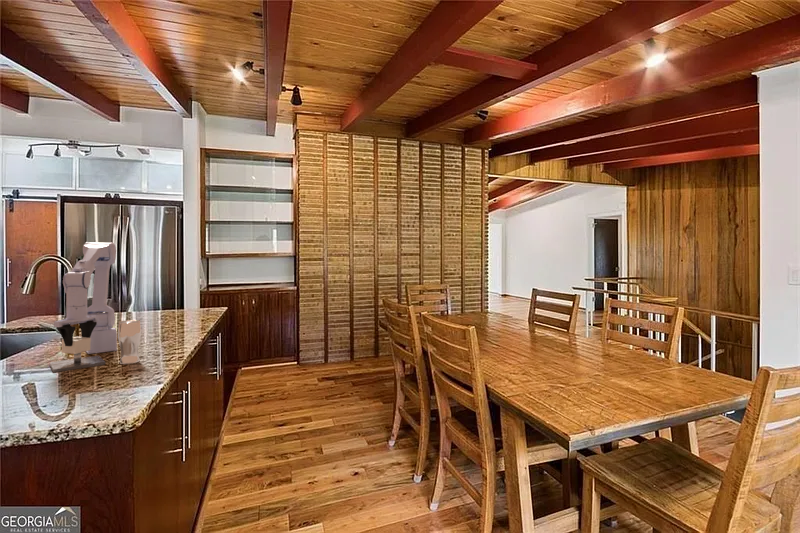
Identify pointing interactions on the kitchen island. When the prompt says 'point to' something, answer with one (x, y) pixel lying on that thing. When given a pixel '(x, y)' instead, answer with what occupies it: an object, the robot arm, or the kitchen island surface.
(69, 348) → the block
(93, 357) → the flat plate
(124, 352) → the beer glass
